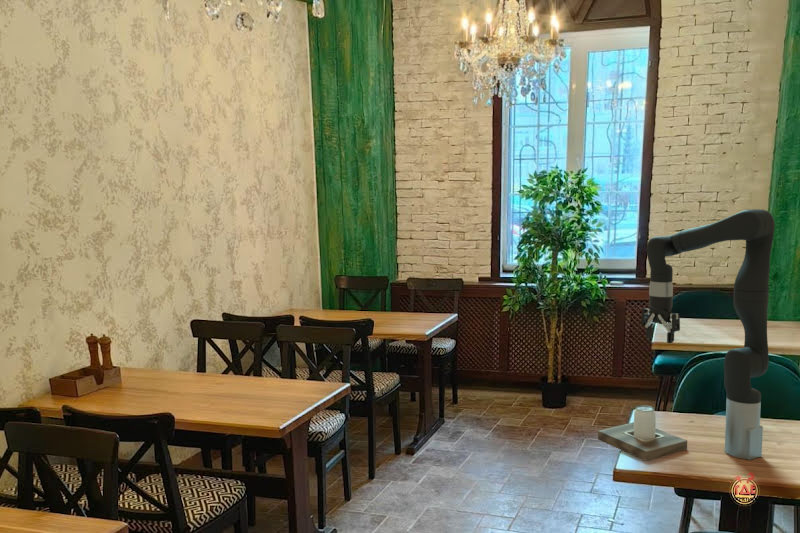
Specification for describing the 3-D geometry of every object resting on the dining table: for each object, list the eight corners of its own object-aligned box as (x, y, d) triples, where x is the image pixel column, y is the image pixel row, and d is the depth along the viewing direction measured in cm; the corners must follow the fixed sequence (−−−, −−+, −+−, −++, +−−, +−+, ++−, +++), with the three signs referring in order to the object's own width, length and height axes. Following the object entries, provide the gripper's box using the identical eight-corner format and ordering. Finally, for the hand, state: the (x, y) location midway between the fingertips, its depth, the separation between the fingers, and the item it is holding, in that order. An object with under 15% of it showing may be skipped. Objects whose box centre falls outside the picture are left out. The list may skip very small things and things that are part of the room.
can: (656, 448, 198) (657, 411, 197) (635, 447, 199) (636, 410, 198) (652, 441, 204) (653, 405, 203) (632, 439, 205) (632, 404, 204)
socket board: (687, 449, 196) (687, 439, 196) (646, 461, 188) (646, 450, 188) (636, 429, 214) (637, 420, 214) (597, 439, 206) (597, 430, 206)
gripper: (686, 296, 210) (684, 343, 211) (651, 291, 222) (650, 335, 224) (670, 297, 206) (669, 345, 208) (636, 292, 219) (635, 338, 220)
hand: (659, 340), depth 216 cm, fingers open, 8 cm apart
